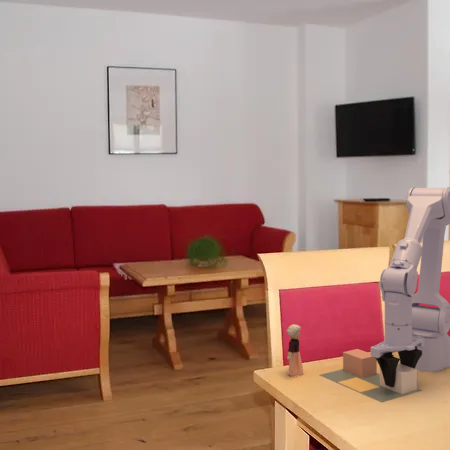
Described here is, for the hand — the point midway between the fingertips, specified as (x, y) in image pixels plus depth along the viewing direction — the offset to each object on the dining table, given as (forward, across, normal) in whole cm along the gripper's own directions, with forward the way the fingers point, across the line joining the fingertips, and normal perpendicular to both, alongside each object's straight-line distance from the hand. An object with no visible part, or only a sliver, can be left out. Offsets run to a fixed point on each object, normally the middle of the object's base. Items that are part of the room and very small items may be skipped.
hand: (398, 383), depth 129 cm
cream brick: (+1, 0, 0) cm, 1 cm away
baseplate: (+2, -3, +6) cm, 7 cm away
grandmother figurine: (+2, -13, +20) cm, 24 cm away
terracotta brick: (+1, 0, +12) cm, 12 cm away
